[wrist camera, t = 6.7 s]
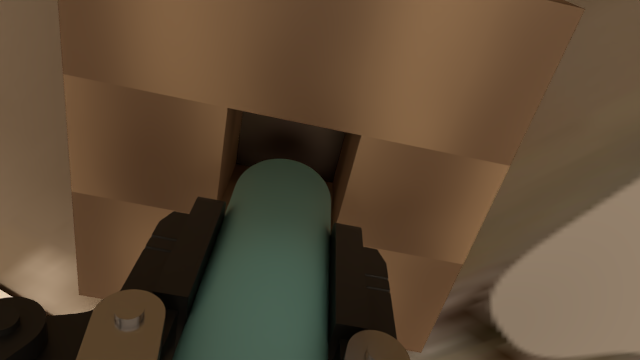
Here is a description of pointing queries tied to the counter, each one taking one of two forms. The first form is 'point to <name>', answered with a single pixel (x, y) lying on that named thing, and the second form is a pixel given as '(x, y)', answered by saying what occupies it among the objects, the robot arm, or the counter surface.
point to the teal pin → (266, 271)
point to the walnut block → (305, 118)
